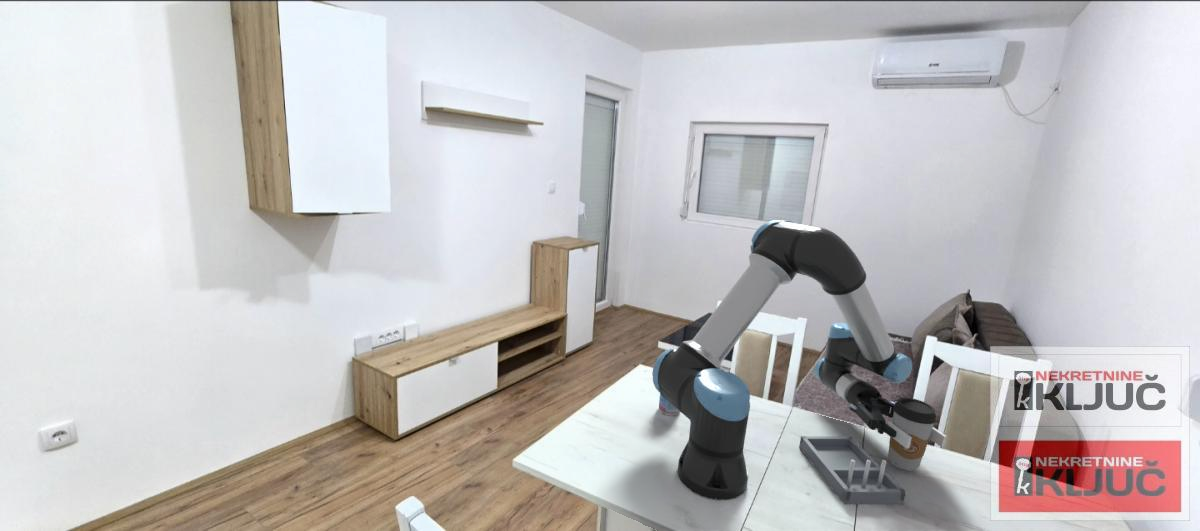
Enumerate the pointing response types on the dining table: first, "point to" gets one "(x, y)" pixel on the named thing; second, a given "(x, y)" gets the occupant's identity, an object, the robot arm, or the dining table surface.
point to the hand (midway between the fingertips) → (926, 442)
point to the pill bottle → (667, 407)
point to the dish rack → (851, 471)
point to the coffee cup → (911, 432)
